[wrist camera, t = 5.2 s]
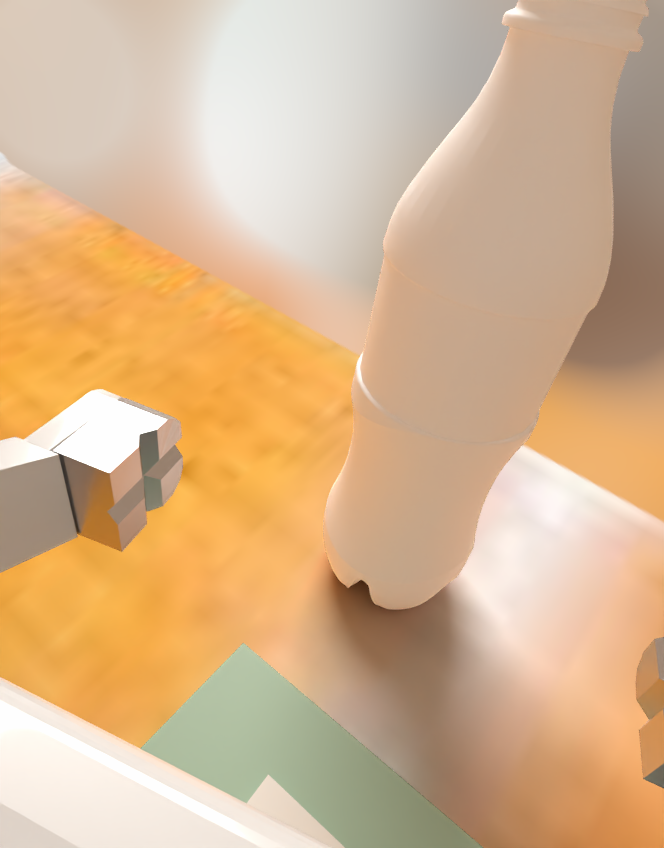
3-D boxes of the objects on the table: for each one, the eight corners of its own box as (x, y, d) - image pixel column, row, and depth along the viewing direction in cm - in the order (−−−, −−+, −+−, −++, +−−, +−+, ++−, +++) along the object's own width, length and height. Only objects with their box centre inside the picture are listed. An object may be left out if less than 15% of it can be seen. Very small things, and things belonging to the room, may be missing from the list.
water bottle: (386, 656, 24) (720, -115, 9) (287, 549, 28) (397, -130, 12) (479, 576, 29) (818, -43, 13) (382, 492, 32) (554, -70, 17)
